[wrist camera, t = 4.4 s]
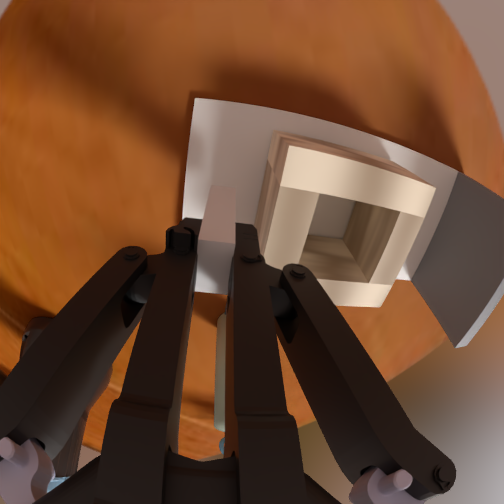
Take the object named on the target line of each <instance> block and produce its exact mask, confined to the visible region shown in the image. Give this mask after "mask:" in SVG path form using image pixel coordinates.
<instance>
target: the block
mask: <svg viewBox="0 0 504 504" xmlns="http://www.w3.org/2000/svg"><path fill="white" fill-rule="evenodd" d="M435 190H436V187H434V186H433V185H431V184H430V183H428V182H426V181H425V180H423V179H422V178H420V177H419V176H417V175H415V174H414V173H412V172H410V171H409V170H407V169H405V168H404V167H402V166H400V165H398V164H397V163H395V162H393V161H391V160H388V159H385V158H382V157H379V156H376V155H372V154H369V153H366V152H363V151H359V150H356V149H353V148H349V147H346V146H342V145H338V144H335V143H331V142H327V141H323V140H319V139H315V138H310V137H306V136H302V135H297V134H292V133H288V132H283V131H277V130H273V134H272V139H271V144H270V149H269V154H268V158H267V163H266V168H265V173H264V178H263V183H262V188H261V193H260V198H259V203H258V208H257V213H256V218H255V223H254V227H255V228H256V229H257V233H258V240H259V247H260V254H261V255H263V256H264V258H265V262H266V264H268V265H270V266H272V267H274V268H277V269H281V270H282V269H283V267H284V266H285V265H287V264H291V263H294V264H300V265H303V266H305V267H307V268H308V269H309V270H310V271H311V272H312V273H313V274H314V276H315V277H316V279H317V280H318V281H319V283H320V284H321V286H322V287H323V289H324V290H325V291H326V293H327V294H328V296H329V297H330V299H331V300H332V301H333V303H334V304H335V305H338V306H361V307H381V305H382V303H383V301H384V300H385V298H386V296H387V294H388V292H389V291H390V289H391V287H392V285H393V283H394V281H395V279H396V278H397V276H398V274H399V272H400V270H401V268H402V266H403V264H404V262H405V260H406V258H407V256H408V254H409V252H410V249H411V247H412V245H413V243H414V241H415V239H416V236H417V234H418V232H419V230H420V227H421V225H422V223H423V220H424V218H425V215H426V213H427V211H428V208H429V206H430V203H431V200H432V198H433V195H434V192H435ZM320 193H322V194H327V195H332V196H336V197H341V198H346V199H350V200H355V201H356V202H355V205H354V208H353V211H352V214H351V217H350V220H349V223H348V226H347V228H346V231H345V234H344V237H343V239H335V238H328V237H322V236H315V235H308V231H309V228H310V225H311V221H312V218H313V215H314V211H315V208H316V204H317V201H318V197H319V194H320Z"/></svg>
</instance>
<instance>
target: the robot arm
mask: <svg viewBox="0 0 504 504" xmlns="http://www.w3.org/2000/svg"><path fill="white" fill-rule="evenodd" d="M235 205H236V188H232V187H224V186H216V185H211V188H210V192H209V196H208V200H207V204H206V208H205V212H204V216H203V219H197V218H188V217H185V218H184V219H183V220H181V221H180V223H179V225H177V226H172V227H170V228H168V229H167V231H166V249H165V252H164V253H161V254H157V255H148V256H147V252H146V251H145V250H144V249H143V248H141V247H137V246H128V247H125V248H122V249H121V250H119V251H118V252H117V253H116V254H115V255H114V256H113V257H112V258H111V259H110V260H108V261H107V262H106V263H105V264H104V265H103V266H102V267H101V268H100V269H99V270H98V271H97V272H96V273H95V274H94V275H93V276H92V277H91V278H90V279H89V281H88V282H87V283H86V284H85V285H84V286H83V287H82V288H81V289H80V290H79V291H78V292H77V293H76V294H75V295H74V296H73V297H72V298H71V300H70V301H69V302H68V303H67V304H66V305H65V306H64V307H63V308H62V310H61V311H60V312H59V313H58V314H57V315H56V316H55V317H54V319H52V318H47V317H37V318H34V319H32V320H31V321H30V322H29V324H28V326H27V328H26V329H25V331H24V334H23V338H22V345H21V351H20V359H19V362H18V363H17V364H16V366H15V367H14V368H13V370H12V371H11V373H10V374H9V375H8V376H7V375H6V374H5V373H4V372H3V371H2V370H1V369H0V495H1V497H2V498H3V500H4V501H5V503H6V504H341V503H340V502H339V501H338V500H336V499H335V498H334V497H333V496H331V495H330V494H329V493H328V492H327V491H326V490H325V489H323V488H322V487H321V486H320V485H319V484H318V483H316V482H315V481H314V480H313V479H312V478H311V477H310V476H308V475H307V474H305V473H304V470H303V463H302V456H301V449H300V442H299V435H298V428H297V424H296V420H295V418H294V417H293V416H292V415H290V414H289V413H288V411H287V406H286V399H285V391H284V384H283V377H282V370H281V363H280V356H279V349H278V342H277V336H278V338H279V340H280V342H281V345H282V347H283V349H284V351H285V353H286V356H287V358H288V360H289V362H290V364H291V366H292V369H293V371H294V373H295V375H296V377H297V379H298V382H299V384H300V386H301V388H302V390H303V392H304V394H305V397H306V399H307V401H308V403H309V405H310V407H311V409H312V412H313V414H314V416H315V418H316V420H317V422H318V424H319V426H320V429H321V430H322V433H323V434H324V437H325V439H326V441H327V443H328V445H329V447H330V450H331V452H332V454H333V456H334V458H335V460H336V462H337V463H338V465H339V467H340V468H341V470H342V472H343V473H344V475H345V476H346V477H347V479H348V480H349V481H350V482H351V483H352V484H353V487H352V490H351V492H350V494H349V500H350V501H351V502H352V503H353V504H424V502H425V501H426V500H428V499H431V498H434V497H436V496H439V495H441V494H444V493H445V492H447V491H449V490H450V488H451V487H452V486H453V484H454V482H455V479H456V469H455V466H454V464H453V462H452V461H451V460H450V459H449V458H448V457H447V456H446V455H444V454H443V453H442V452H441V451H440V450H439V449H438V448H437V447H435V446H434V445H433V444H432V443H431V442H430V441H428V440H427V439H426V438H425V437H424V436H423V435H421V434H420V433H419V432H418V431H417V430H416V429H415V428H414V427H413V425H412V423H411V422H410V420H409V418H408V417H407V415H406V413H405V412H404V410H403V408H402V407H401V405H400V403H399V402H398V400H397V399H396V397H395V396H394V394H393V392H392V391H391V389H390V387H389V386H388V384H387V383H386V381H385V380H384V378H383V376H382V375H381V373H380V372H379V370H378V369H377V367H376V366H375V364H374V362H373V361H372V359H371V358H370V356H369V355H368V353H367V352H366V350H365V349H364V347H363V346H362V344H361V343H360V341H359V340H358V338H357V337H356V335H355V334H354V332H353V331H352V329H351V328H350V326H349V325H348V323H347V322H346V320H345V319H344V317H343V316H342V315H341V313H340V312H339V310H338V309H337V307H336V306H335V304H334V303H333V301H332V300H331V299H330V297H329V296H328V294H327V293H326V291H325V290H324V289H323V287H322V286H321V284H320V283H319V281H318V280H317V279H316V277H315V276H314V274H313V273H312V272H311V271H310V270H309V269H308V268H307V267H305V266H303V265H300V264H294V263H291V264H287V265H285V266H284V267H283V269H282V270H281V269H277V268H274V267H272V266H270V265H268V264H266V262H265V258H264V256H263V255H261V254H260V247H259V240H258V233H257V229H256V228H255V227H254V226H253V225H252V224H245V223H237V222H235ZM194 291H197V292H206V293H215V294H225V295H227V294H228V296H227V303H226V310H225V315H226V346H225V445H224V458H223V459H217V460H211V461H205V462H201V461H196V460H193V459H190V458H187V457H184V456H182V455H179V454H178V431H179V419H180V408H181V398H182V388H183V379H184V370H185V362H186V354H187V346H188V338H189V331H190V324H191V317H192V310H193V303H194ZM141 318H142V319H141ZM140 320H141V322H140V325H139V329H138V332H137V335H136V339H135V342H134V346H133V349H132V353H131V357H130V360H129V364H128V368H127V372H126V375H125V379H124V383H123V388H122V392H121V395H120V397H119V398H118V399H115V400H114V401H113V403H112V405H111V408H110V411H109V415H108V420H107V424H106V429H105V434H104V439H103V444H102V450H101V455H100V456H98V457H96V458H95V459H93V460H92V461H90V462H89V463H88V464H86V465H85V466H84V467H83V468H81V469H80V470H79V471H77V467H78V461H79V455H80V450H81V445H82V440H83V435H84V430H85V426H86V422H87V418H88V414H89V411H90V409H91V408H92V406H93V405H94V404H95V402H96V401H97V400H98V398H99V397H100V396H101V394H102V393H103V392H104V390H105V389H106V387H107V386H108V384H109V382H110V378H111V375H112V370H113V369H112V363H113V362H114V360H115V359H116V357H117V355H118V354H119V352H120V351H121V349H122V347H123V346H124V344H125V343H126V341H127V340H128V338H129V337H130V335H131V333H132V332H133V330H134V329H135V327H136V326H137V324H138V323H139V321H140ZM276 334H277V335H276Z"/></svg>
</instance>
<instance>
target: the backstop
mask: <svg viewBox="0 0 504 504" xmlns="http://www.w3.org/2000/svg"><path fill="white" fill-rule="evenodd" d="M273 130H277V131H283V132H288V133H292V134H297V135H302V136H306V137H310V138H315V139H319V140H323V141H327V142H331V143H335V144H338V145H342V146H346V147H349V148H353V149H356V150H359V151H363V152H366V153H369V154H372V155H376V156H379V157H382V158H385V159H388V160H391V161H393V162H395V163H397V164H398V165H400V166H402V167H404V168H405V169H407V170H409V171H410V172H412V173H414V174H415V175H417V176H419V177H420V178H422V179H423V180H425V181H426V182H428V183H430V184H431V185H433V186H434V187H436V190H435V192H434V195H433V198H432V200H431V203H430V206H429V208H428V211H427V213H426V215H425V218H424V220H423V223H422V225H421V227H420V230H419V232H418V234H417V236H416V239H415V241H414V243H413V245H412V247H411V249H410V252H409V254H408V256H407V258H406V260H405V262H404V264H403V266H402V268H401V270H400V272H399V274H398V276H397V278H396V279H401V280H411V282H412V283H413V284H414V286H415V287H416V289H417V290H418V291H419V293H420V294H421V296H422V297H423V299H424V300H425V302H426V303H427V305H428V306H429V308H430V309H431V311H432V312H433V314H434V315H435V317H436V318H437V320H438V321H439V323H440V324H441V326H442V328H443V329H444V331H445V333H446V334H447V336H448V337H449V339H450V341H451V342H452V344H453V346H454V348H458V347H463V346H466V345H467V344H468V343H469V342H470V340H471V339H472V338H473V337H474V335H475V334H476V333H477V331H478V330H479V329H480V328H481V326H482V325H483V324H484V322H485V320H486V319H487V318H488V316H489V315H490V314H491V312H492V311H493V309H494V308H495V306H496V305H497V303H498V302H499V300H500V299H501V297H502V295H503V294H504V199H503V198H502V197H500V196H499V195H497V194H496V193H494V192H493V191H491V190H489V189H488V188H486V187H485V186H483V185H482V184H480V183H478V182H477V181H475V180H473V179H472V178H470V177H468V176H466V175H465V174H463V173H461V172H459V171H457V170H455V169H453V168H451V167H449V166H447V165H445V164H443V163H441V162H439V161H436V160H434V159H432V158H430V157H428V156H425V155H423V154H421V153H418V152H416V151H414V150H411V149H409V148H406V147H404V146H401V145H399V144H396V143H394V142H391V141H388V140H386V139H383V138H380V137H377V136H374V135H371V134H368V133H365V132H362V131H359V130H356V129H353V128H350V127H346V126H343V125H340V124H336V123H333V122H329V121H325V120H322V119H318V118H314V117H310V116H306V115H302V114H297V113H293V112H288V111H283V110H278V109H273V108H268V107H263V106H257V105H251V104H244V103H237V102H230V101H222V100H214V99H204V98H195V102H194V109H193V116H192V123H191V131H190V139H189V147H188V156H187V166H186V176H185V188H184V200H183V214H182V220H183V219H184V218H185V217H188V218H197V219H203V216H204V212H205V208H206V204H207V200H208V196H209V192H210V188H211V185H216V186H224V187H232V188H236V205H235V222H237V223H245V224H252V225H253V226H254V223H255V218H256V213H257V208H258V203H259V198H260V193H261V188H262V183H263V178H264V173H265V168H266V163H267V158H268V154H269V149H270V144H271V139H272V134H273ZM355 202H356V201H355V200H350V199H346V198H341V197H336V196H332V195H327V194H322V193H320V194H319V197H318V201H317V204H316V208H315V211H314V215H313V218H312V221H311V225H310V228H309V231H308V235H315V236H322V237H328V238H335V239H343V237H344V234H345V231H346V228H347V226H348V223H349V220H350V217H351V214H352V211H353V208H354V205H355Z"/></svg>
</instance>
